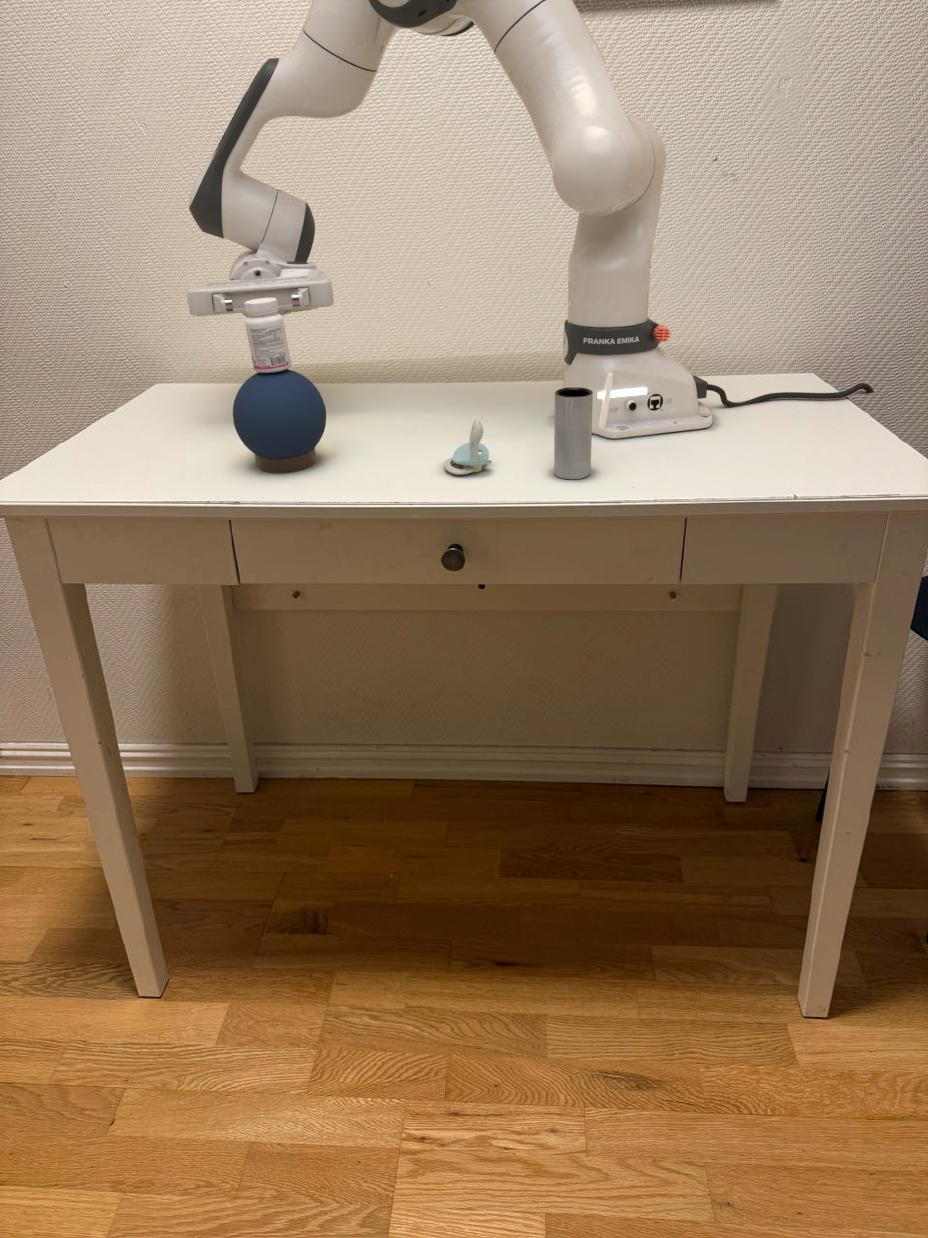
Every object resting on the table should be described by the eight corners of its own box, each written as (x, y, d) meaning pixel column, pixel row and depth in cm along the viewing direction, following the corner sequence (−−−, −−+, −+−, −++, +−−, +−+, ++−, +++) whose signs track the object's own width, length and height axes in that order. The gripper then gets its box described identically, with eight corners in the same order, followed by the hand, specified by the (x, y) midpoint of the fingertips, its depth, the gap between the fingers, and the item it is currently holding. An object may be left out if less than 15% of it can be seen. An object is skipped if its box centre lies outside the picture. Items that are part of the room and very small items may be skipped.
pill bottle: (260, 366, 119) (248, 298, 115) (296, 363, 118) (284, 295, 114) (249, 374, 114) (235, 304, 111) (285, 372, 114) (273, 301, 110)
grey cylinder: (588, 480, 112) (591, 397, 107) (552, 479, 113) (552, 396, 108) (591, 468, 116) (594, 387, 111) (556, 466, 117) (557, 386, 112)
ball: (334, 443, 127) (324, 356, 122) (327, 472, 117) (316, 378, 111) (248, 447, 127) (234, 360, 121) (233, 477, 116) (217, 383, 111)
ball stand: (319, 452, 126) (317, 438, 125) (313, 471, 119) (311, 456, 118) (261, 455, 126) (258, 441, 125) (252, 474, 119) (249, 460, 118)
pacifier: (445, 480, 114) (493, 476, 114) (441, 432, 111) (490, 427, 111) (443, 461, 121) (488, 457, 121) (439, 415, 118) (485, 411, 118)
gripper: (183, 270, 132) (179, 285, 120) (325, 261, 136) (334, 274, 124) (191, 316, 135) (188, 334, 123) (329, 305, 139) (339, 322, 127)
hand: (262, 304), depth 123 cm, fingers open, 8 cm apart
